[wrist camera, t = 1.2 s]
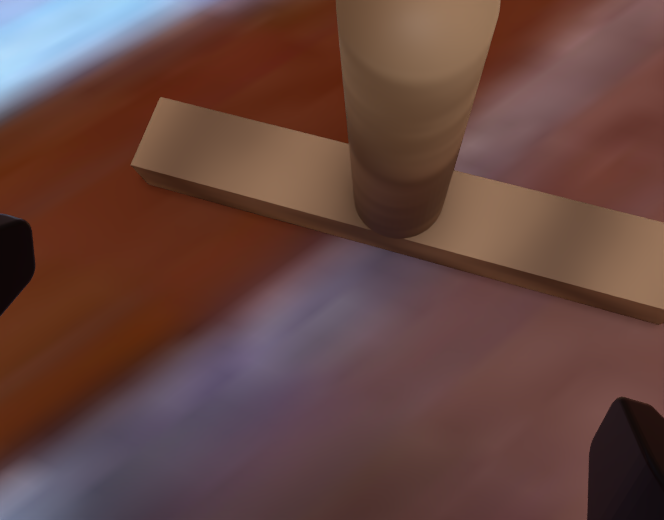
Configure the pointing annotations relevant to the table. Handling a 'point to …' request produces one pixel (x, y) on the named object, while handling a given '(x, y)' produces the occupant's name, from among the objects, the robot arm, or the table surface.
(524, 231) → the wooden bar with post
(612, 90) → the table surface
